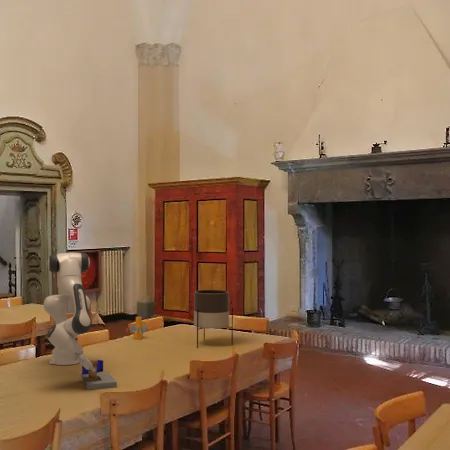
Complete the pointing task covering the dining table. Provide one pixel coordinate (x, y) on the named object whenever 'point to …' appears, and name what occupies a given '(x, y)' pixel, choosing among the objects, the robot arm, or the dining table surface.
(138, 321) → the orange post with rings
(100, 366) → the cable clip
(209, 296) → the planter
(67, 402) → the dining table surface
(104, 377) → the notched board
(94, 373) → the bobbin
